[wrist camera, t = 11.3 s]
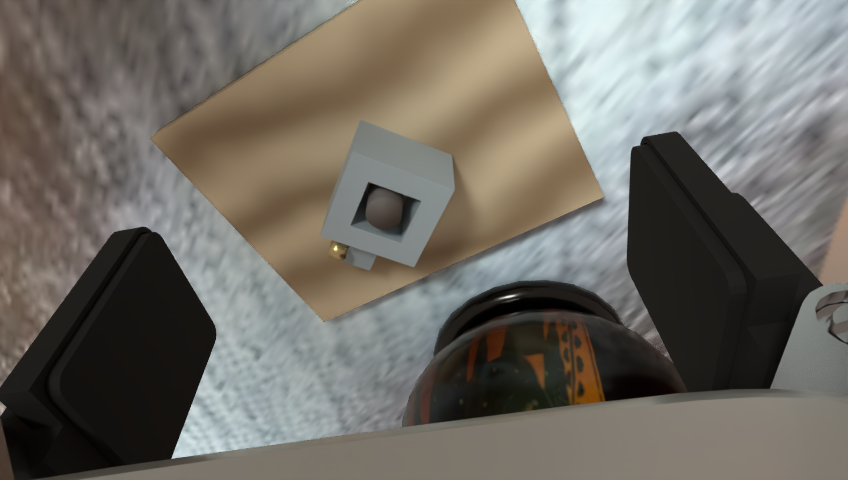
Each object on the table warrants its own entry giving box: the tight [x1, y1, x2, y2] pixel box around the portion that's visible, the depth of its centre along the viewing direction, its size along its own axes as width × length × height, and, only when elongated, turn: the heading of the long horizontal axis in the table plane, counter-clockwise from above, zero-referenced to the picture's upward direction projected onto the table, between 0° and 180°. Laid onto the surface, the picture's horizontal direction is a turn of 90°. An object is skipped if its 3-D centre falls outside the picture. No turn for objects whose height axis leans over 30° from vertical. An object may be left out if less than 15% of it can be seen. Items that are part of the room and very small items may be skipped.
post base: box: [150, 0, 604, 322], centre depth 35 cm, size 19×24×6 cm
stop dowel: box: [328, 240, 348, 262], centre depth 38 cm, size 1×1×4 cm
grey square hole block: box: [320, 120, 455, 271], centre depth 36 cm, size 9×6×4 cm
